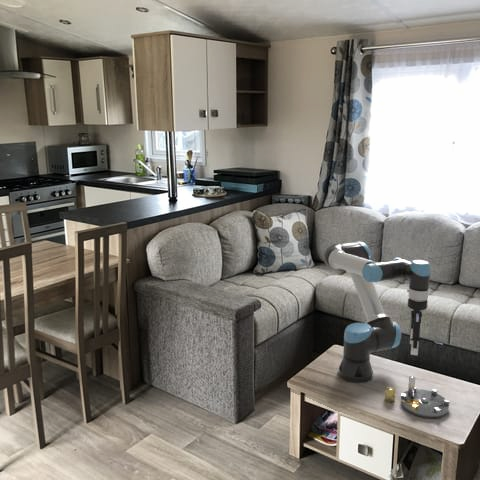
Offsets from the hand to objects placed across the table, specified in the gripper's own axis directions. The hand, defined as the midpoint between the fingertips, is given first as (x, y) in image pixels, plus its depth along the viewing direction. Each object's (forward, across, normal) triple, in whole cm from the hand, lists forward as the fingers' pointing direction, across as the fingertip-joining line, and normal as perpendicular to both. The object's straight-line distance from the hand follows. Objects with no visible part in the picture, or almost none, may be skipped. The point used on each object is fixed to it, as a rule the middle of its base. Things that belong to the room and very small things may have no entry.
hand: (413, 349), depth 209 cm
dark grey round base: (+20, +10, +5) cm, 23 cm away
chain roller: (+20, +9, -8) cm, 23 cm away
